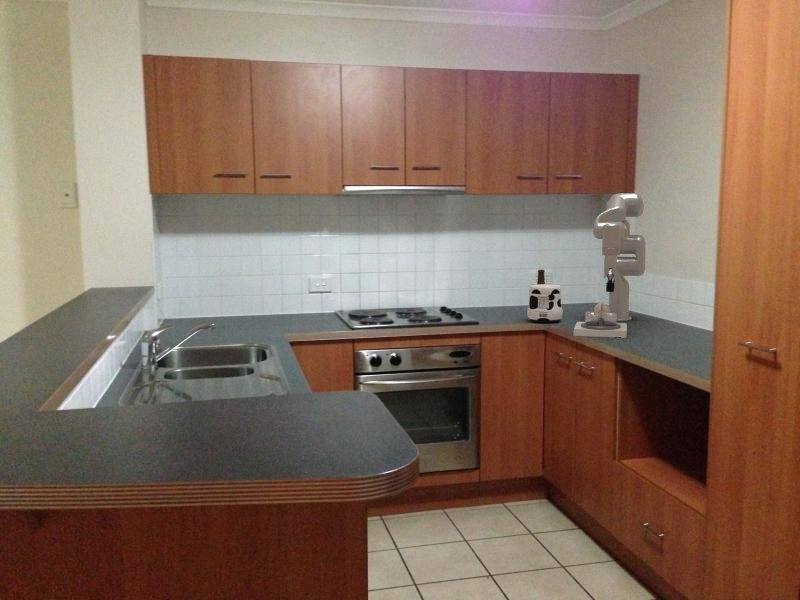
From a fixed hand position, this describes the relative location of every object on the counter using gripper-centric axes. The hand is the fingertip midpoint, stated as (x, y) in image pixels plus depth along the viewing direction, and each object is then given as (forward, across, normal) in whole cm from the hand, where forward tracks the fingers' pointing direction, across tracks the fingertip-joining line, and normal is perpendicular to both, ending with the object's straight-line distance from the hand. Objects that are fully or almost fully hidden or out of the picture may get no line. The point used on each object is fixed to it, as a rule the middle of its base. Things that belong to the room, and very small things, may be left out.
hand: (610, 290), depth 300 cm
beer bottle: (+21, -54, -37) cm, 68 cm away
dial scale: (+19, -1, -4) cm, 20 cm away
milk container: (+20, -29, -32) cm, 47 cm away
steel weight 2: (+16, +1, 0) cm, 16 cm away
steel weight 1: (+16, +1, -7) cm, 17 cm away
